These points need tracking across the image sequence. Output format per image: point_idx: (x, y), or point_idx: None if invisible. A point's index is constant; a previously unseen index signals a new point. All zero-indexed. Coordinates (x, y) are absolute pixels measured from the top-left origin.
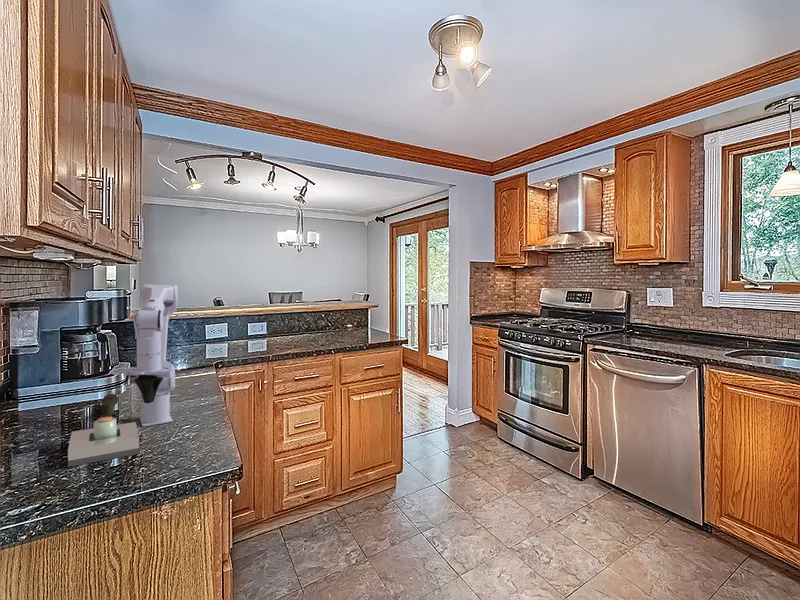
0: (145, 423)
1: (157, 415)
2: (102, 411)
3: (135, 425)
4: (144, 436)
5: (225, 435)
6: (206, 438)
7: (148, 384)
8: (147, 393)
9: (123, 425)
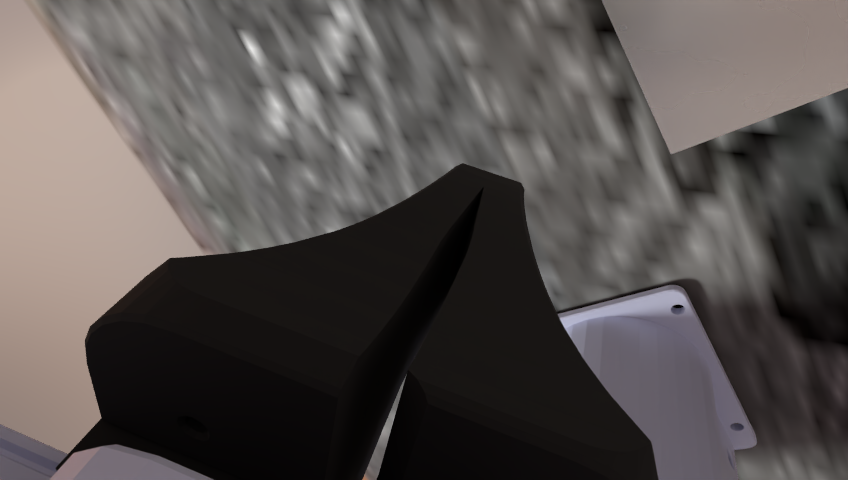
0: (670, 318)
1: (584, 354)
2: None
3: (634, 50)
4: (591, 91)
5: (84, 65)
6: (151, 18)
7: (252, 259)
8: (408, 213)
9: (771, 59)
